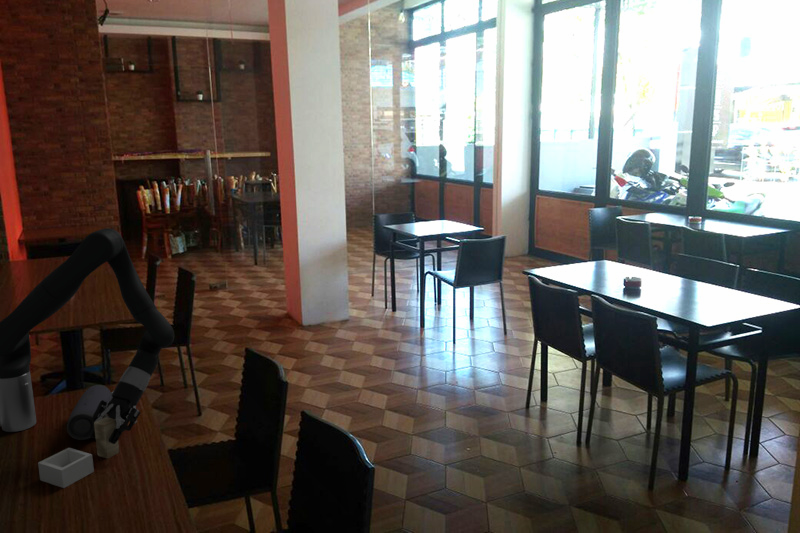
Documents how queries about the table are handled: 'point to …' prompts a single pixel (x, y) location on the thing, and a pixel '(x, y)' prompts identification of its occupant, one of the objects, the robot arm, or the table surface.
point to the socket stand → (66, 467)
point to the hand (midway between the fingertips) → (102, 440)
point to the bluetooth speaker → (86, 412)
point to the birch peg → (105, 437)
